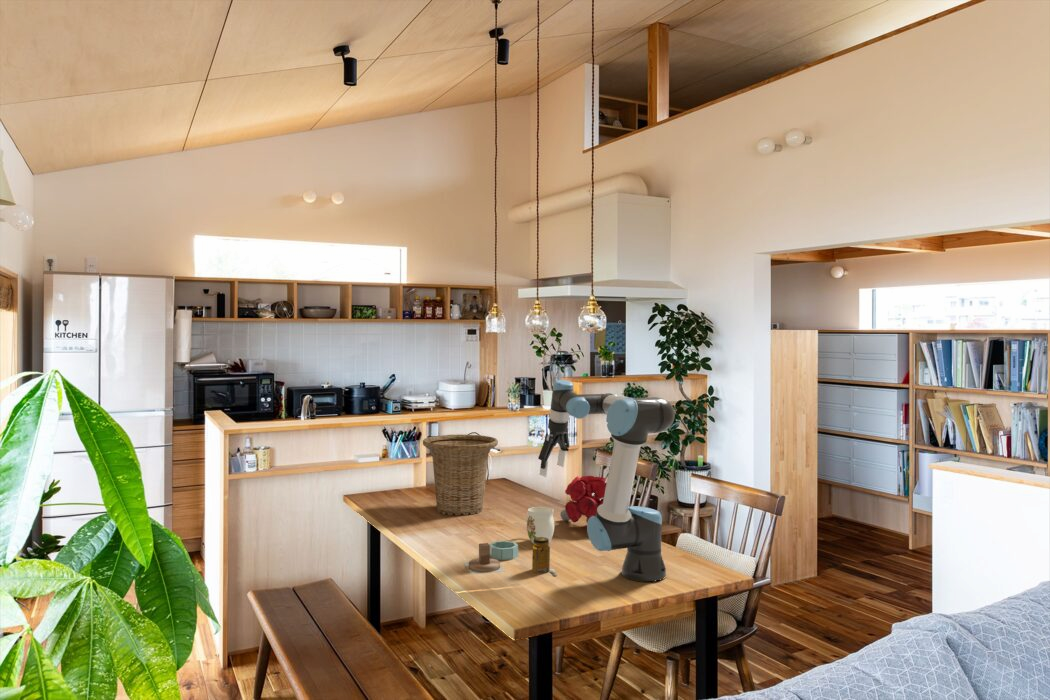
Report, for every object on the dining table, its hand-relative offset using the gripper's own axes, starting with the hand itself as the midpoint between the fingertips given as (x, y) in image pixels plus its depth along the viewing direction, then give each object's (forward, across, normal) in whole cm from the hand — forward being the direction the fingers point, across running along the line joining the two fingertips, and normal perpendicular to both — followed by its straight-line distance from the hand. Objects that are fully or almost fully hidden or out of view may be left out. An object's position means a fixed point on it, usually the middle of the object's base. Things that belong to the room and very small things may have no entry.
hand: (551, 470), depth 286 cm
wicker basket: (+45, -20, -56) cm, 75 cm away
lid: (+24, +42, 0) cm, 48 cm away
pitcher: (+30, +3, 0) cm, 30 cm away
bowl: (+27, +28, -1) cm, 39 cm away
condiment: (+22, +34, +20) cm, 45 cm away
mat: (+24, +42, +1) cm, 49 cm away
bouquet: (+33, -29, +6) cm, 44 cm away
